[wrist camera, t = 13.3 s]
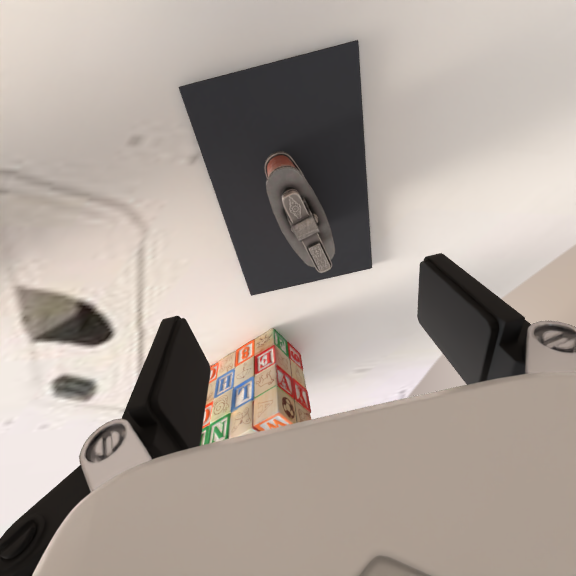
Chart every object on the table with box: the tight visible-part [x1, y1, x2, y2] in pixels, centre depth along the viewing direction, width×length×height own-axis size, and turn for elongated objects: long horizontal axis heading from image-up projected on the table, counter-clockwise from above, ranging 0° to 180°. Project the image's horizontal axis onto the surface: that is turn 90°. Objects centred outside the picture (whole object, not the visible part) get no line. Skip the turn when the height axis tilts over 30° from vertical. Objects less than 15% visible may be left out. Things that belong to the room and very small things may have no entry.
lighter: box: [265, 151, 335, 273], centre depth 23 cm, size 8×3×10 cm, turn 27°
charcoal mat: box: [179, 40, 372, 296], centre depth 28 cm, size 14×20×1 cm
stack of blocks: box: [200, 328, 311, 446], centre depth 36 cm, size 21×6×12 cm, turn 126°
